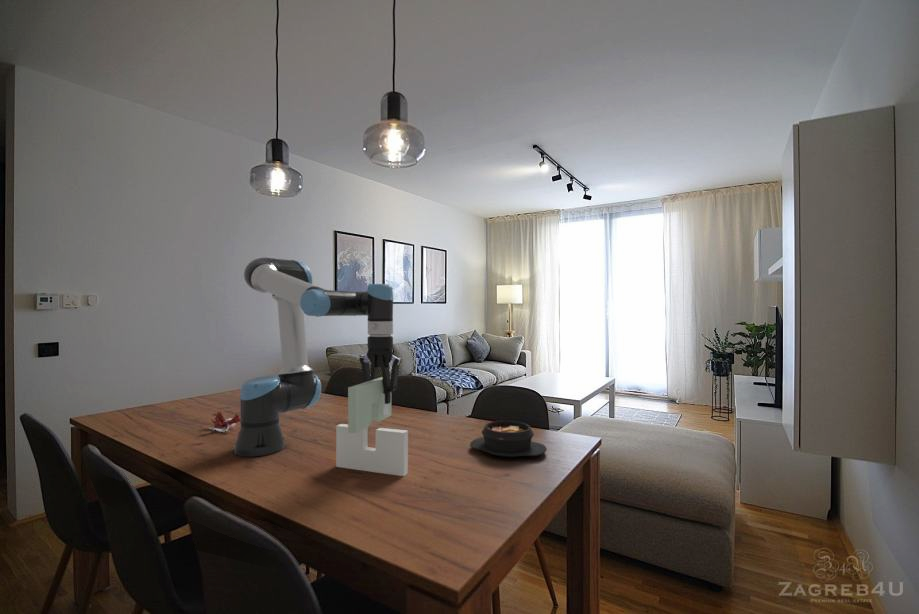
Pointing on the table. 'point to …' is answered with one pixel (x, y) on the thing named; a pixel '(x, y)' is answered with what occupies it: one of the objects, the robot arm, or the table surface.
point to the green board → (365, 405)
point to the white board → (373, 450)
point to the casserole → (508, 440)
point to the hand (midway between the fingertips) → (380, 413)
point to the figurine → (224, 422)
